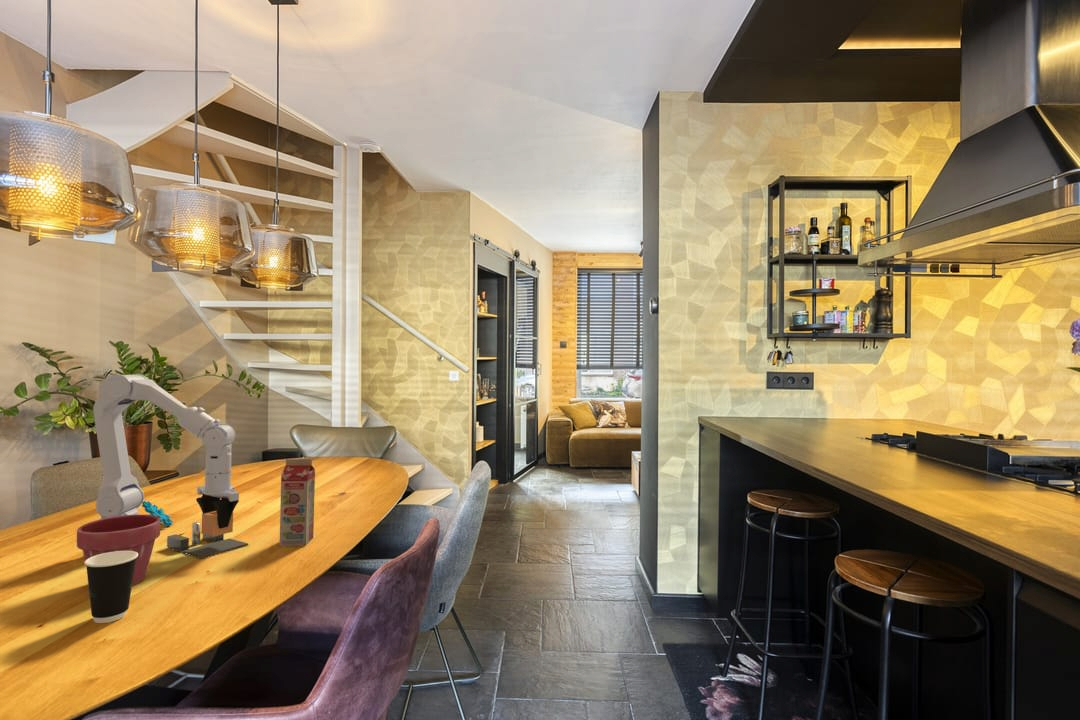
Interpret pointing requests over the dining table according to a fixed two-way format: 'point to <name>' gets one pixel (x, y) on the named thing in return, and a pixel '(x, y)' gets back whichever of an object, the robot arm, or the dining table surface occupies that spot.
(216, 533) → the collar
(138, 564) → the plant pot
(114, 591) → the dixie cup
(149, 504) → the gear
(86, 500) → the dining table surface
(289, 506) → the juice carton
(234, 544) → the panel
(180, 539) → the vise
